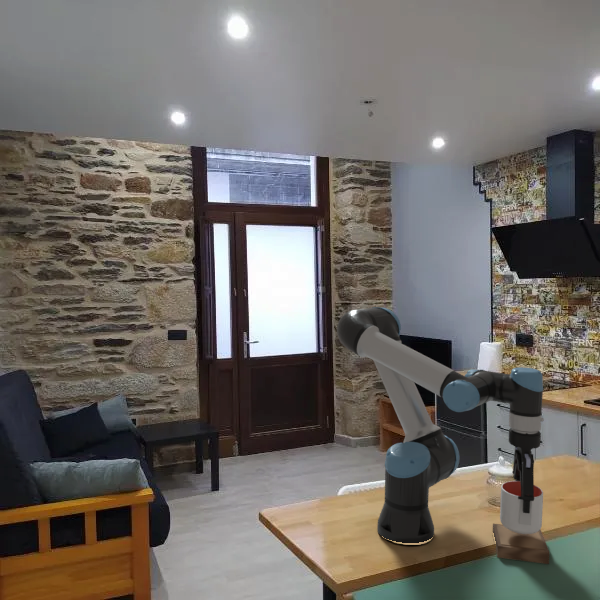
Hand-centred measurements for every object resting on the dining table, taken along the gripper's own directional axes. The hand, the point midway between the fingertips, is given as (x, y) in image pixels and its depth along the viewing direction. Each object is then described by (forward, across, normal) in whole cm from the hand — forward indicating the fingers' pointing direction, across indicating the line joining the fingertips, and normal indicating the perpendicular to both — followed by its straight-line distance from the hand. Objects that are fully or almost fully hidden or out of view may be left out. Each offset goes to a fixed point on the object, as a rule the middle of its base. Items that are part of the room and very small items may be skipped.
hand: (521, 514), depth 143 cm
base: (+9, 0, 0) cm, 9 cm away
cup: (+4, 0, 0) cm, 4 cm away
